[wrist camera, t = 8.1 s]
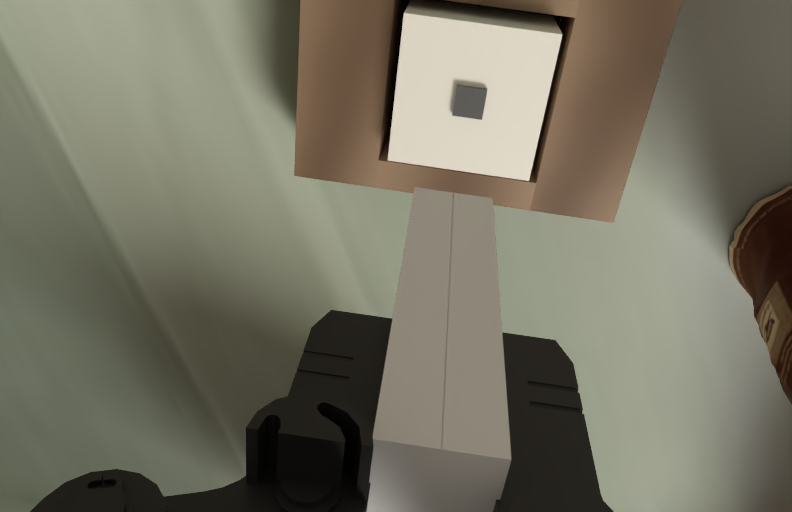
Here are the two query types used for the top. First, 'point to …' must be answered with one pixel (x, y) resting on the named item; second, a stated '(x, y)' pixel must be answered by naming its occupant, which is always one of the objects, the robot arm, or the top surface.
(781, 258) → the coffee cup
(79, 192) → the top surface
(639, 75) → the brown flat block
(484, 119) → the tile one
